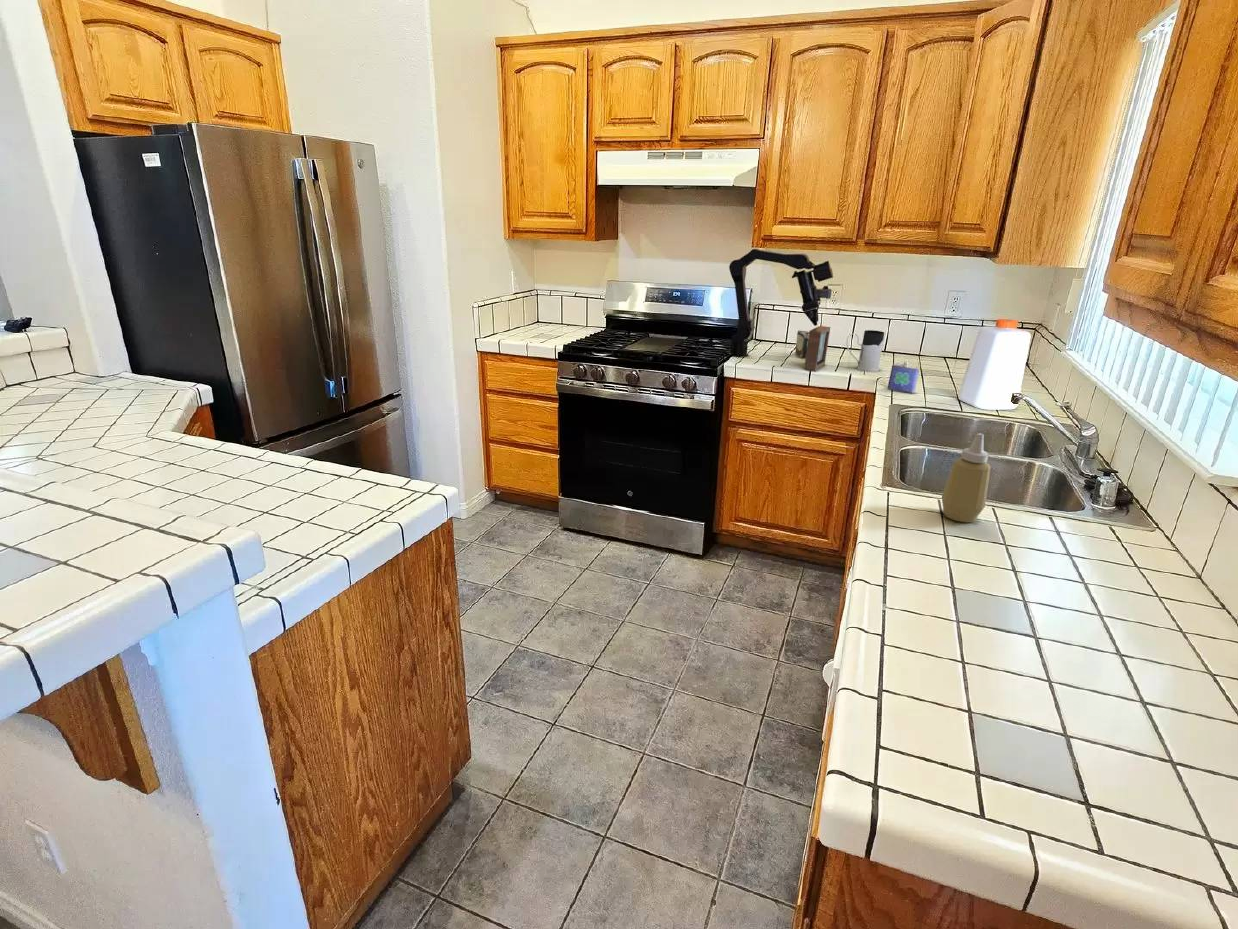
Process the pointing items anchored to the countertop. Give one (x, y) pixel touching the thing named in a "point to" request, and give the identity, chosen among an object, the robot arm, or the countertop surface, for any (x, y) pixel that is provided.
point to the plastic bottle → (996, 366)
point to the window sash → (804, 347)
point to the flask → (903, 378)
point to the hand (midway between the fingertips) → (816, 323)
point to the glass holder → (870, 350)
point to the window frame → (817, 348)
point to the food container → (801, 342)
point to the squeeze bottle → (967, 483)
